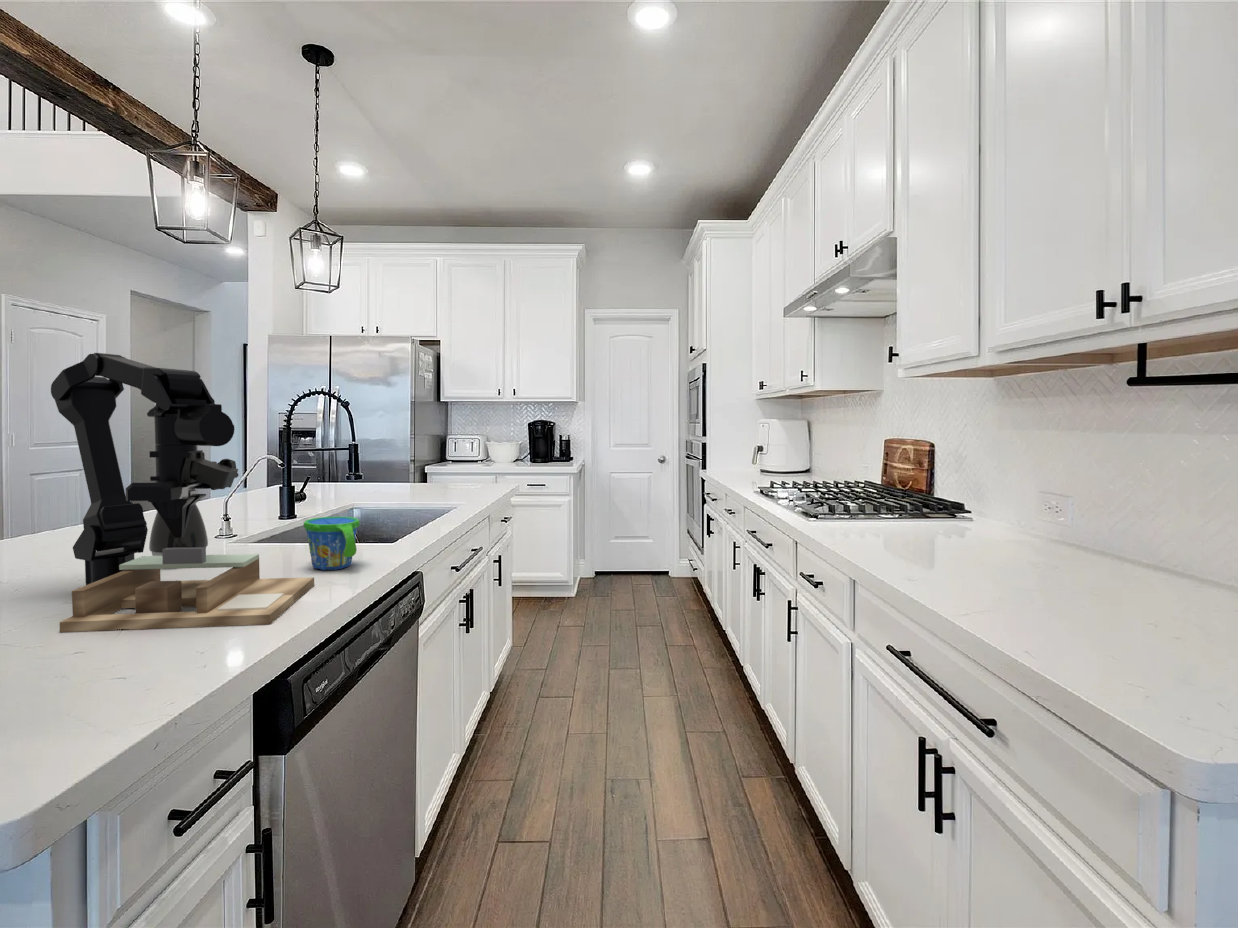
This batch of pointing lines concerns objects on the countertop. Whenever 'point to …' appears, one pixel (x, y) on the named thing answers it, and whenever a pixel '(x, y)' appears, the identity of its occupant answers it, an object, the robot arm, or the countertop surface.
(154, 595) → the walnut block
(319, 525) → the snack cup
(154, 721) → the countertop surface
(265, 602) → the cream pad
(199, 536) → the dark grey rounded dome
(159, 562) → the sliding cover
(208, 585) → the puzzle board
